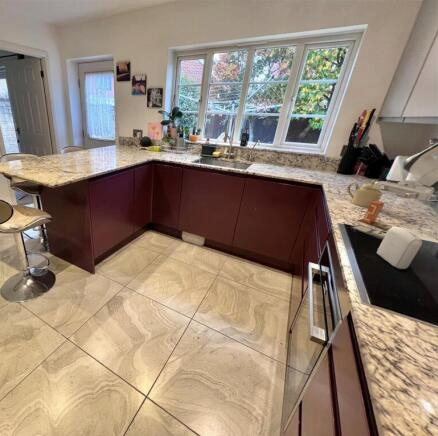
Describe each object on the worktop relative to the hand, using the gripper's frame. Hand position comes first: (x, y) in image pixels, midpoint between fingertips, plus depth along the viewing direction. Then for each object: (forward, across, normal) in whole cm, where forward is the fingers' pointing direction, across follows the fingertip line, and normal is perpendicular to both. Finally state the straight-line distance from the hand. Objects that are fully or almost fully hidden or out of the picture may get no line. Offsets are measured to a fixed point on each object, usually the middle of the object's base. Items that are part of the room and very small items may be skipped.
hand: (393, 191), depth 110 cm
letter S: (+12, 0, +14) cm, 18 cm away
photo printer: (+43, +20, +15) cm, 50 cm away
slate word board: (+24, +9, +14) cm, 30 cm away
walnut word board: (+12, +6, +15) cm, 20 cm away
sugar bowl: (-18, -17, +15) cm, 29 cm away
